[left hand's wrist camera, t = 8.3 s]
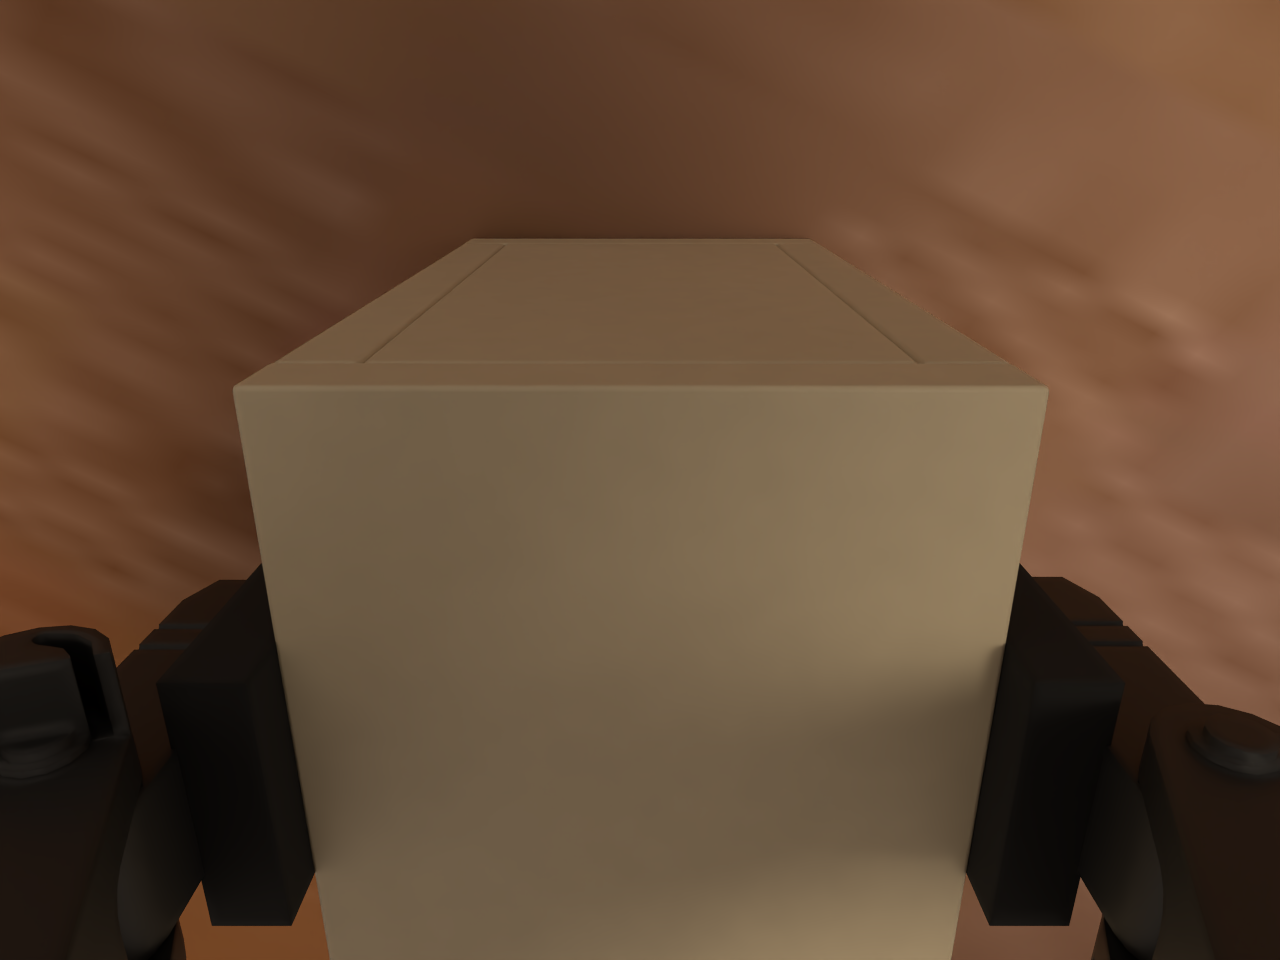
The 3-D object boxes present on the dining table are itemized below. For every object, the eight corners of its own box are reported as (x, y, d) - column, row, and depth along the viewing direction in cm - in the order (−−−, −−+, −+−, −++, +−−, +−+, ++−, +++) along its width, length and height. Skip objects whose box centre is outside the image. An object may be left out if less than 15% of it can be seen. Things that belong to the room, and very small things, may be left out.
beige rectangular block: (766, 905, 23) (861, 1489, 13) (514, 904, 23) (418, 1488, 13) (811, 238, 17) (1051, 385, 7) (470, 238, 17) (228, 386, 7)
